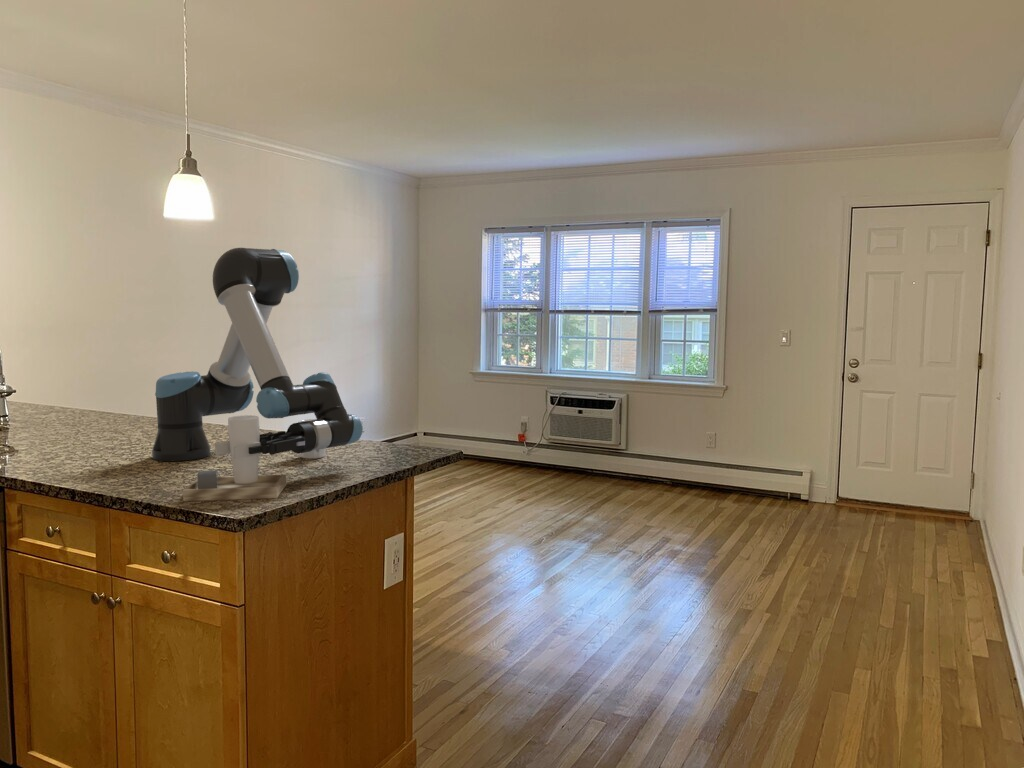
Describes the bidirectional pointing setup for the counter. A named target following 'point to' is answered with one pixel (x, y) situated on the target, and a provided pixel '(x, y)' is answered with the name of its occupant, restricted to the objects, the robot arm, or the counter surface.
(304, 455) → the white cup
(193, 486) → the tray
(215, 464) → the counter surface
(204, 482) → the cube
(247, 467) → the drinking glass
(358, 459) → the counter surface
